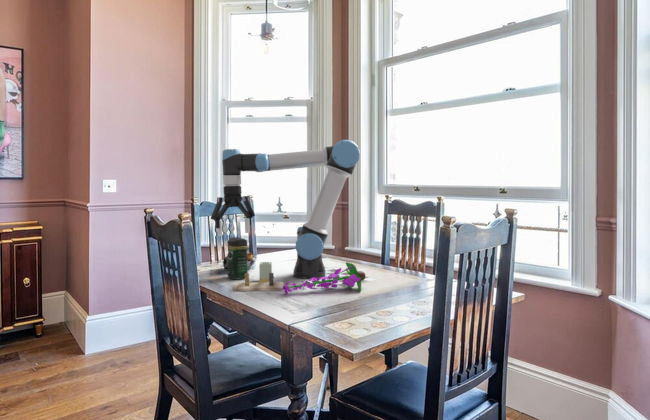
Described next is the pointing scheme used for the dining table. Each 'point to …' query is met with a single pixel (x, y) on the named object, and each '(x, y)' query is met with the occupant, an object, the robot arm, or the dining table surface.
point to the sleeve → (265, 271)
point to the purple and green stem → (349, 280)
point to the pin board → (259, 285)
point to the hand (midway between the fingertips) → (234, 234)
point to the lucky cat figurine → (250, 261)
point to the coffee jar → (237, 258)
